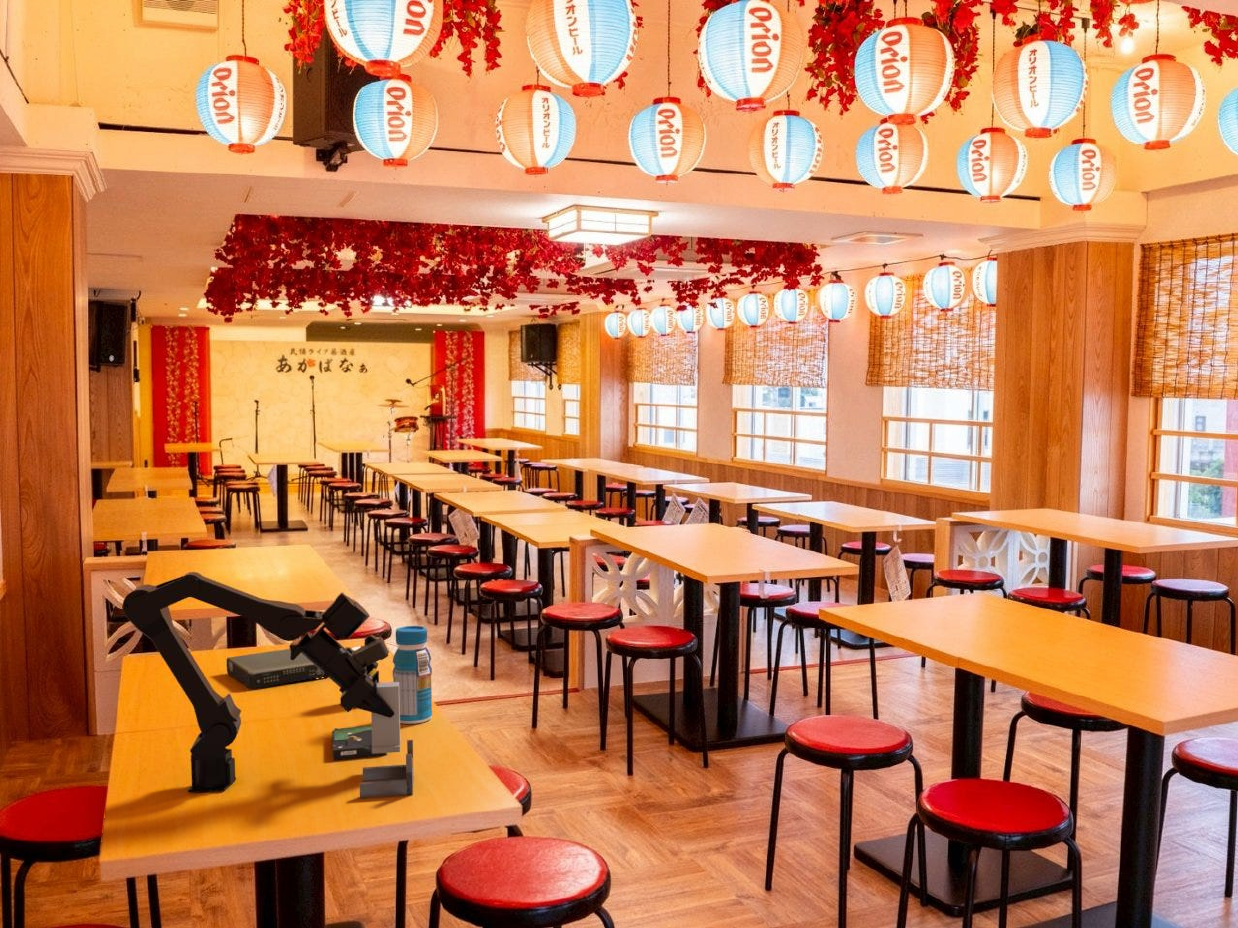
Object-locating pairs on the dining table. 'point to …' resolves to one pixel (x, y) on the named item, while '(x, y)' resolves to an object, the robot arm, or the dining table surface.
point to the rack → (389, 778)
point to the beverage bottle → (413, 674)
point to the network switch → (271, 668)
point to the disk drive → (353, 743)
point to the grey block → (387, 721)
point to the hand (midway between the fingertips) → (393, 712)
